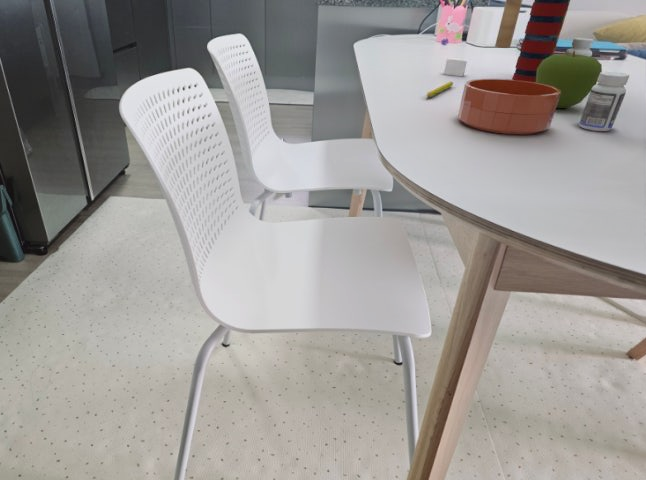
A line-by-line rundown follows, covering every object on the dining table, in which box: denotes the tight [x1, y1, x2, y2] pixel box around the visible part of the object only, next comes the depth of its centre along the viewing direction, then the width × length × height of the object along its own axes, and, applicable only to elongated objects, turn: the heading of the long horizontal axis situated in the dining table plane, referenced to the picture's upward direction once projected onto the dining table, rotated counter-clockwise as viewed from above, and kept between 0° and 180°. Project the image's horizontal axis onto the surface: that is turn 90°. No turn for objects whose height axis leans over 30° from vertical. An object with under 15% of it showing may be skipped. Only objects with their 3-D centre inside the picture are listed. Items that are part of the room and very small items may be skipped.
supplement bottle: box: [564, 37, 594, 57], centre depth 108 cm, size 5×5×10 cm
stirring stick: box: [494, 0, 523, 49], centre depth 69 cm, size 2×2×12 cm
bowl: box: [457, 78, 561, 135], centre depth 77 cm, size 14×14×6 cm
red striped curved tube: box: [511, 0, 571, 82], centre depth 104 cm, size 25×7×25 cm, turn 150°
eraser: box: [443, 58, 468, 77], centre depth 119 cm, size 1×5×4 cm, turn 62°
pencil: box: [426, 81, 454, 98], centre depth 100 cm, size 16×1×1 cm, turn 146°
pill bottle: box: [578, 71, 630, 132], centre depth 75 cm, size 5×5×8 cm
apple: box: [536, 51, 603, 109], centre depth 87 cm, size 11×10×10 cm
